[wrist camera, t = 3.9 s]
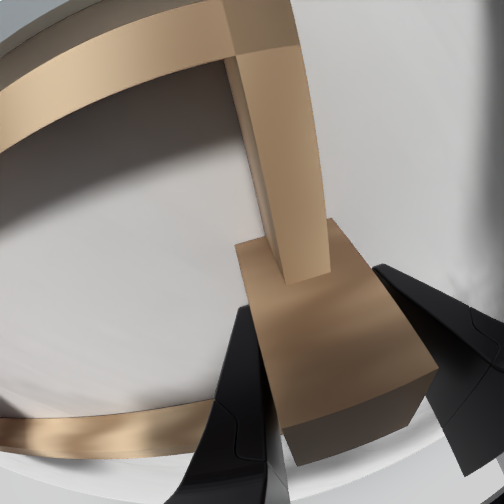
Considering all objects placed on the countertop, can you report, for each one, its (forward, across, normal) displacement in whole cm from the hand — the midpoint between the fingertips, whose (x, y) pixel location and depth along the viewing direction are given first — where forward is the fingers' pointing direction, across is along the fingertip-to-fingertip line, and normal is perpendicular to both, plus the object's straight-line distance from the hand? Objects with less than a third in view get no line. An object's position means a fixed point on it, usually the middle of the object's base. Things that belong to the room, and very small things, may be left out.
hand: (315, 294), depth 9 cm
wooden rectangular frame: (+2, +13, 0) cm, 13 cm away
